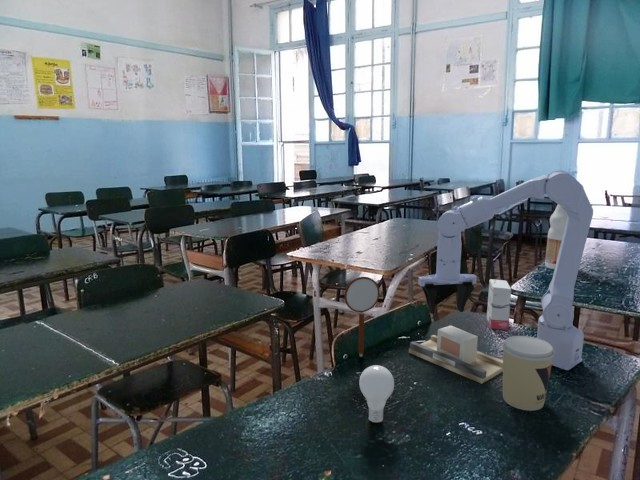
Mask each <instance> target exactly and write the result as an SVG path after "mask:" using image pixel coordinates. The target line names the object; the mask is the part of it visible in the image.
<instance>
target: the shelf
mask: <svg viewBox="0 0 640 480" xmlns="http://www.w3.org/2000/svg"><path fill="white" fill-rule="evenodd" d="M437 336H438V335H436V334H432V335H430V339H429V340H426V341H423V342H422V343H418V342H416V341H411V342H409V348H408V353H409V354H411V355H414V356H416V357H418V358H421V359H423V360H424V361H428V362H429V363H432V364H435V365H437V366H439V367H441V368H444V369H446V370H449V371H451V372H453V373H456V374H458V375H459V376H460V375H461V376H462V377H465V378H467V379H470V380H473V381H475V382H477V383H479V384H484V383H485V382H487V381H489V380H491V379H492V378H494V377H497V376H498V375H499V374H501V373H503V359H501V358H497V357H495V356H492V355H489V354H486V353H484V352H481V351H479V350H477V356H476V361H474V362H472V363H469V364H468V363H466V362H463V361H461V360H458V359H456V358H453V357H451V356H448V355H446V354H443V353H441V352H438V351H437Z"/></svg>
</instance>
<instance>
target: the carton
mask: <svg viewBox="0 0 640 480" xmlns="http://www.w3.org/2000/svg"><path fill="white" fill-rule="evenodd" d="M436 336H437V351H438V352H441V353H443V354H446V355H448V356H451V357H453V358H456V359H458V360H461V361H463V362H466V363H468V364H469V363H472V362H474V361H476V356H477V351H478V339H479V338H478V335H475V334H472V333H470V332H468V331H466V330H463V329H461V328H458V327H455V326H453V325H451V324H449V325H448V326H445V327H441V328H438V329H437V335H436Z"/></svg>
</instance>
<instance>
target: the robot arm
mask: <svg viewBox="0 0 640 480" xmlns="http://www.w3.org/2000/svg"><path fill="white" fill-rule="evenodd" d="M545 195H547V197H548V198H549V199H550V200H551V201H553V202H554V203H556V204H557V205H558V204H559V205H561V207H562V208H563V209H564V211H565V212H566V213H567V214H568V217H567V221H566V225H565V229H564V233H563V237H562V242H561V246H560V250H559V254H558V258H557V262H556V266H555V270H554V269H553V274H552V277H551V278H552V279H551V281H550V283H549V285H548V289H547V291H546V292H545V293H544V294H543V295H542V297H541V299H540V304H541V307H542V314H541V315H540V316H539V317H538V322H537V323H538V324H537V331H536V332H537V334H536V338H538V339H541V340H544V341H546V342H548V343H549V344H550V345H551V346H552V347H553V350H554V357H553V360H552V366H553V367H556V368H558V369H561V370H565V371H570V370H571V369H572V368H574V367H576V366H577V365H578V364H580V363H581V362H583V358H582V356H583V348H584V339H585V336H584V331H583V330H582V329H579V328H577V327H576V326H574V325H573V321H574V318H575V314H574V313H575V312H574V309H573V303H574V296H575V295H574V293H575V285H576V281H577V277H578V274H579V270H580V266H581V261H582V258H583V254H584V251H585V246H586V244H587V243H586V242H587V238H588V236H589V235H588V234H589V231H590V227H591V224H592V220H593V215H594V209H593V207H592V204H591V202H590V200H589V197H588V195H587V193H586V191H585V188H584V186H583V185H582V183H581V182H580V181H578V180H577V179H576V178H575V177H574V176H573V175H571V174H570V173H569V172H568V171H566V170H559V169H557V170H554V171H552V172H550V173H549V174H543V175H538V176H537V177H534V178H531V179H528V180H526V181H524V182H522V183H520V184H518V185H515V186H514V187H512V188H510V189H508V190H506V191H503V192H501V193H499V194H497V195H495V196H493V197H486V196H479V197H478V196H477V195H475V196H473V197H472V198H471V201H468V202H466V203H464V204H461V205H459V206H458V205H455V206H453V207H452V210H451V209H449V210H446V211H445V212H443V213H442V215H440V217H439V218H438V221H437V224H436V227H437V230H438V234H437V237H438V240H437V248H436V250H437V251H436V265H435V266H436V269H435V270H436V271H435V274H430V275H424V276H417V277H418V278H417V279H418V281H417V284H418V286H420V287H421V289H422V292H423V295H424V296H425V299H426V302H427V303H426V304H427V309H428V312H429V313H430V314H433V315H434V314H435V310H436V298H437V293H438V290H437V289H436V286H441V285H456V289H457V298H456V299H457V301H456V310H457V311H459V312H460V313H462V312H463V313H464V310H465V306H466V303H467V301H468V300H469V297H470V295H471V294H472V293H473V291H474V289H475V286H474V284H477V282H478V281H477V279H478V278H477V275H476V274H472V273H471V274H470V273H461V262H462V261H461V260H462V245H463V244H462V242H463V241H462V230H463V229H465V230H466V229H470V228H473V227H476V226H478V225H480V224H482V223H484V222H487V221H489V220H492V219H493V218H494V215H495V213H496V211H498V210H501V209H502V210H503V208H507V207H509V206H511V205H514V204H516V203H519V202H521V201H524V200H527V199H530V198H532V199H539V200H545Z"/></svg>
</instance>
